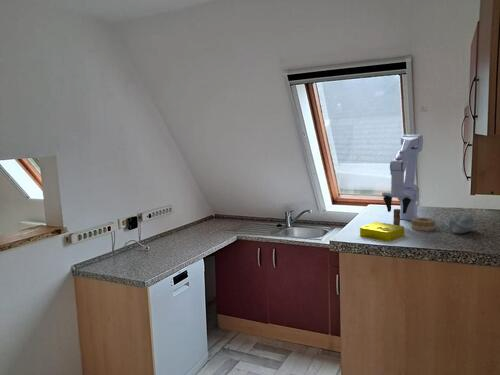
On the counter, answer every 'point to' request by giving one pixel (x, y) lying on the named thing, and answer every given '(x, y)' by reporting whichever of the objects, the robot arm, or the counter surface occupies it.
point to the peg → (396, 217)
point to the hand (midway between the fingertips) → (396, 212)
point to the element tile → (382, 231)
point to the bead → (423, 224)
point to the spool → (461, 223)
